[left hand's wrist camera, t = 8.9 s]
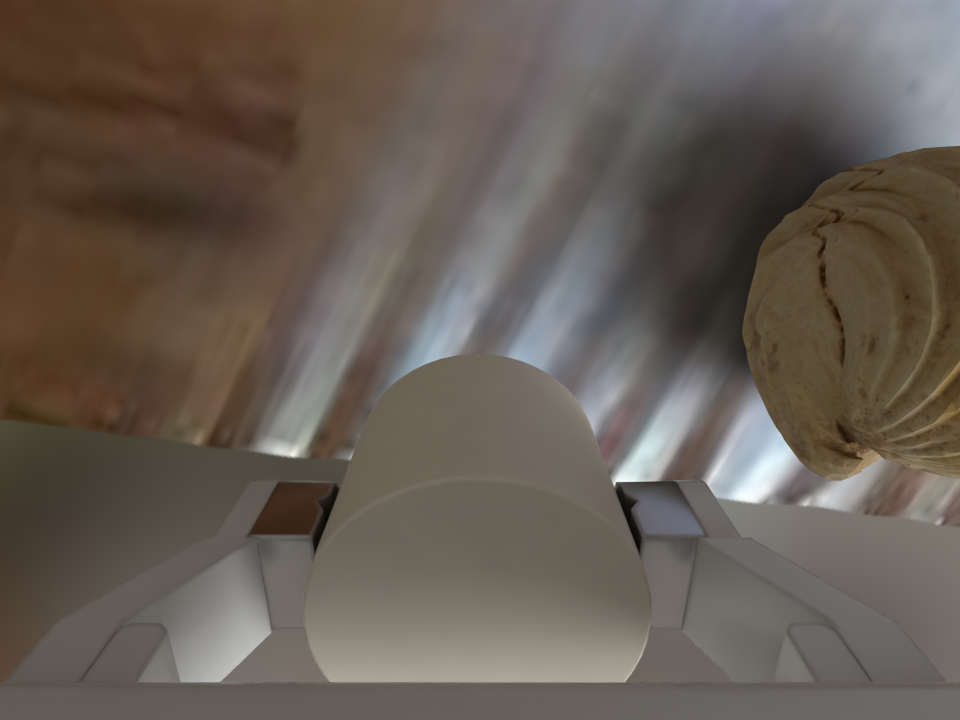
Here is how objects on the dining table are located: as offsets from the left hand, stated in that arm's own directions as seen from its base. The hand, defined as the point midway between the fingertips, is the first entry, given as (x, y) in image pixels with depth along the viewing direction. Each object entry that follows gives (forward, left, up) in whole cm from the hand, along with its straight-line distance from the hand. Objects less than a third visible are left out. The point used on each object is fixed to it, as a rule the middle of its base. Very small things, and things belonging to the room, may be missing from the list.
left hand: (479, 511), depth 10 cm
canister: (0, 0, -2) cm, 2 cm away
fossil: (-20, +7, -24) cm, 32 cm away
